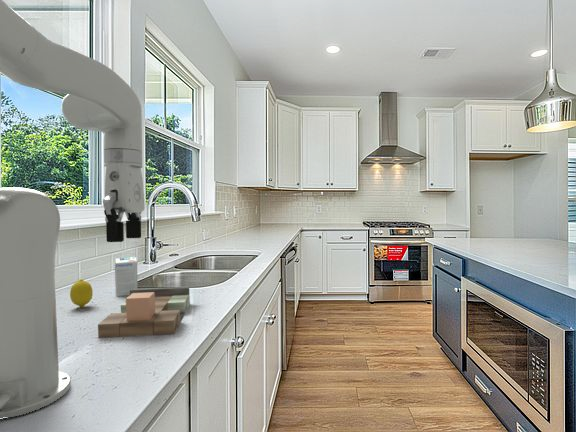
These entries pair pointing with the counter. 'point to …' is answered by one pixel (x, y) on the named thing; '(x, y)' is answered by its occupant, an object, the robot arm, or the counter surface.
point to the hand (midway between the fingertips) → (125, 239)
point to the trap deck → (162, 322)
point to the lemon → (81, 293)
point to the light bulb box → (125, 275)
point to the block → (140, 306)
